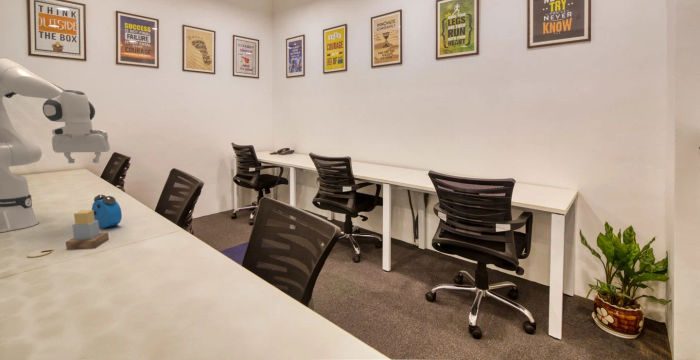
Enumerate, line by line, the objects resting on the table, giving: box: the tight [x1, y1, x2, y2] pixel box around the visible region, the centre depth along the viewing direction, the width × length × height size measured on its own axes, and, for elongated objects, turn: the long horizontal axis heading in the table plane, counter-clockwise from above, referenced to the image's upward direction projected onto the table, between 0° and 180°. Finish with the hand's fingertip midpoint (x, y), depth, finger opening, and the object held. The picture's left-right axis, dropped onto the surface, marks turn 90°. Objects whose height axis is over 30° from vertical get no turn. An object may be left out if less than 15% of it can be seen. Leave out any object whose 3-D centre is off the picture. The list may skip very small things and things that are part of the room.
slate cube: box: [72, 220, 101, 240], centre depth 138 cm, size 6×6×6 cm
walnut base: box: [65, 232, 109, 251], centre depth 139 cm, size 10×10×3 cm
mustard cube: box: [73, 209, 95, 225], centre depth 137 cm, size 4×4×4 cm
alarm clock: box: [91, 194, 123, 229], centre depth 159 cm, size 13×6×15 cm, turn 65°
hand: (84, 162), depth 147 cm, fingers open, 8 cm apart
